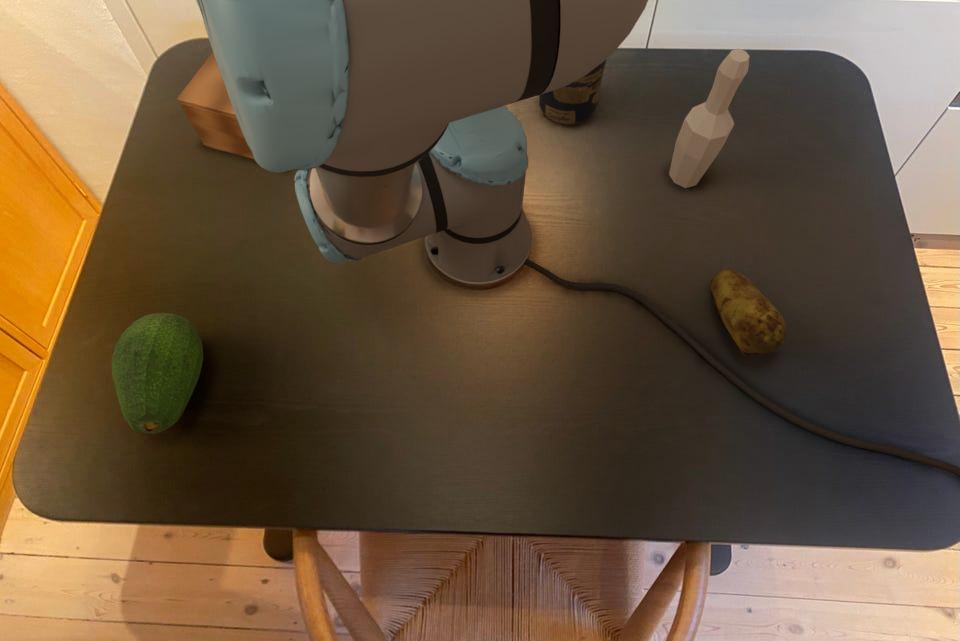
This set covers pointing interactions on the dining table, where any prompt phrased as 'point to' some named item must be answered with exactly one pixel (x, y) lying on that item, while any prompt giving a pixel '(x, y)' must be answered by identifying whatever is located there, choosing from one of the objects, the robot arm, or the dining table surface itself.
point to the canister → (573, 98)
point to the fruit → (156, 370)
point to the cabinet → (213, 111)
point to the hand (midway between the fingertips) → (347, 140)
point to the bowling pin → (708, 123)
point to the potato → (747, 313)
